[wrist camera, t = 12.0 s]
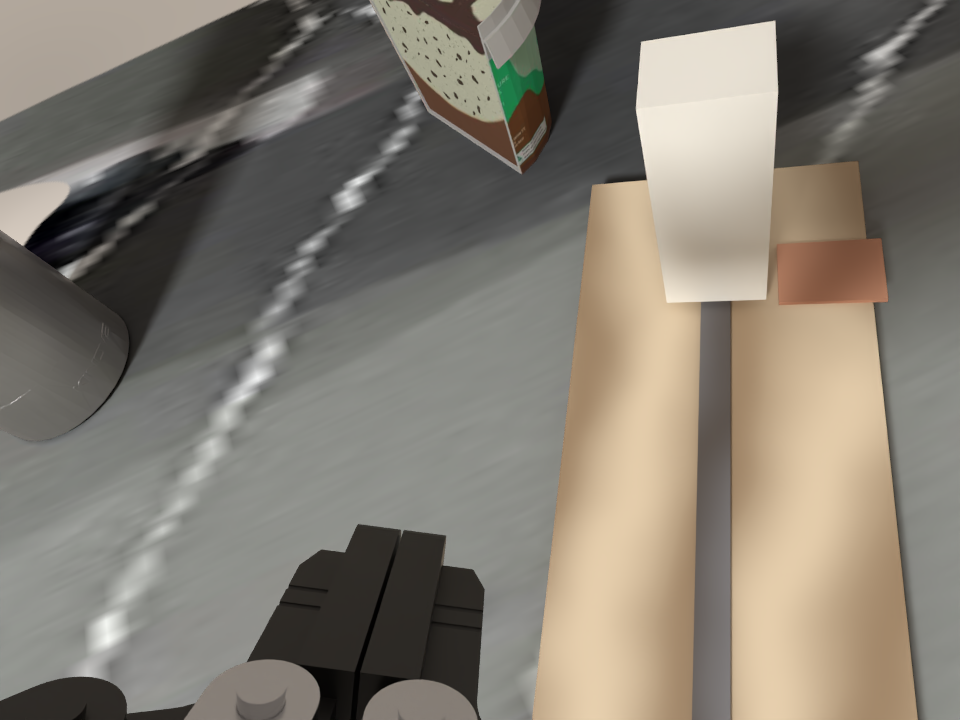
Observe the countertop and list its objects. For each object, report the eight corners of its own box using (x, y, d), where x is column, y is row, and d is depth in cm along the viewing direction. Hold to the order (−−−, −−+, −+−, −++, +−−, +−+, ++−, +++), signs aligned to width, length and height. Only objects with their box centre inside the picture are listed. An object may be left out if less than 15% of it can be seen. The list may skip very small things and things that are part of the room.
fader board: (537, 769, 25) (525, 769, 24) (597, 204, 37) (591, 182, 36) (939, 850, 21) (954, 856, 20) (865, 182, 33) (871, 156, 31)
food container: (619, 115, 40) (586, -55, 31) (539, 186, 39) (485, 30, 31) (484, 44, 46) (429, -112, 38) (415, 103, 46) (343, -43, 37)
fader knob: (666, 302, 31) (635, 108, 21) (669, 246, 32) (641, 41, 23) (766, 299, 29) (777, 91, 20) (764, 241, 31) (775, 20, 21)
